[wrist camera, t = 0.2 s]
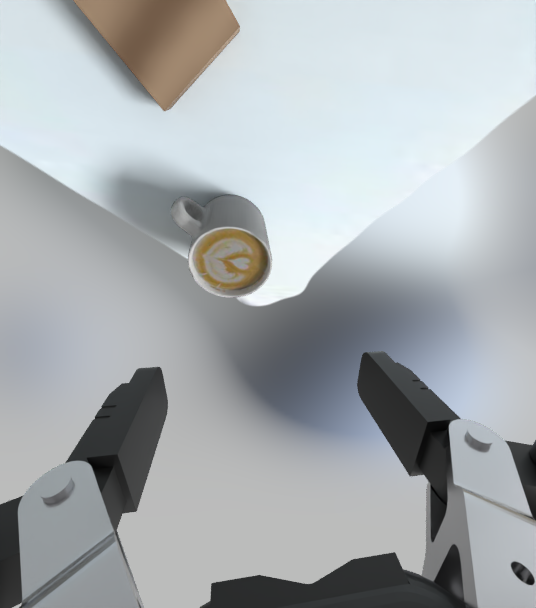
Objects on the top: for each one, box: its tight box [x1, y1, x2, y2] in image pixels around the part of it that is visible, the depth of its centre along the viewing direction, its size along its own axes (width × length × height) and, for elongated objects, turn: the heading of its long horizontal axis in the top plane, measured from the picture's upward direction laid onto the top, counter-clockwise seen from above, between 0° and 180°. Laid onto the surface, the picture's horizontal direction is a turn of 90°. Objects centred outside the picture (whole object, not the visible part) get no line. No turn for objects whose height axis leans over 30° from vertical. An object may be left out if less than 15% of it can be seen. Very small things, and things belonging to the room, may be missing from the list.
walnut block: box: [73, 0, 240, 111], centre depth 22 cm, size 10×10×3 cm
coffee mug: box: [171, 195, 272, 298], centre depth 33 cm, size 13×10×10 cm
